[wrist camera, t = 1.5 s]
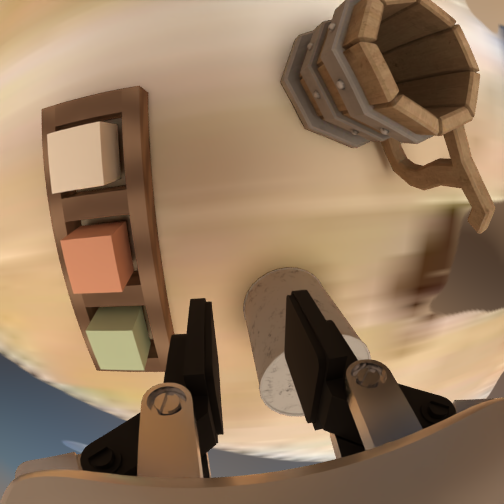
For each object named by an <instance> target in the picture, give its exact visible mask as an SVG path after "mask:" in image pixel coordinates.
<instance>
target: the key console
mask: <svg viewBox="0 0 504 504" xmlns="http://www.w3.org/2000/svg"><path fill="white" fill-rule="evenodd" d="M121 117H122V135H123V153H124V166H125V178H126V186H118V187H110V188H103V189H96V190H90V191H83V192H76V190H71V191H66V192H60V193H54V194H52V188H51V180H50V170H49V159H48V143H47V134H49V133H53V132H57V131H60V130H64V129H68V128H72V127H76V126H81V125H85V124H90V123H94V122H99V121H104V120H110V119H115V118H121ZM42 144H43V159H44V171H45V180H46V189H47V196H48V203H49V210H50V216H51V221H52V227H53V232H54V237H55V242H56V247H57V251H58V255H59V260H60V264H61V268H62V271H63V275H64V279H65V283H66V286H67V290H68V293H69V296H70V300H71V303H72V306H73V309H74V312H75V315H76V318H77V321H78V324H79V327H80V329H81V332H82V335H83V338H84V340H85V343H86V345H87V348H88V351H89V353H90V355H91V358H92V360H93V363H94V365H95V367H96V370H99V371H125V372H165V370H166V364H167V357H168V351H169V345H170V339H171V335H174V330H173V325H172V320H171V315H170V310H169V304H168V299H167V293H166V287H165V281H164V275H163V269H162V262H161V255H160V248H159V240H158V232H157V224H156V215H155V206H154V196H153V185H152V173H151V159H150V142H149V117H148V92H147V91H145V90H144V89H143V88H142V87H140V86H135V87H129V88H124V89H118V90H113V91H108V92H104V93H99V94H95V95H90V96H86V97H82V98H79V99H75V100H71V101H67V102H64V103H60V104H57V105H54V106H51V107H47V108H44V109H42ZM129 214H130V222H131V229H132V236H133V242H134V249H135V255H136V261H137V266H138V271H134V272H133V273H132V275H131V277H130V279H129V281H128V282H127V284H126V286H125V288H124V290H123V292H109V293H81V294H73V290H72V287H71V283H70V280H69V276H68V272H67V268H66V264H65V260H64V256H63V251H62V247H61V242H60V240H62V239H63V238H64V237H66V236H67V235H69V234H70V233H71V232H73V231H74V230H75V229H77V228H78V227H80V226H82V225H81V220H85V219H93V218H101V217H110V216H119V215H129ZM139 305H145V306H146V311H147V315H148V319H149V324H150V328H151V332H152V336H153V339H152V340H150V342H151V345H150V349H149V353H148V357H147V362H146V366H145V370H106V369H100V367H99V364H98V362H97V359H96V357H95V355H94V352H93V349H92V347H91V344H90V342H89V339H88V336H87V333H86V329H87V327H88V325H89V324H90V322H91V320H92V318H93V317H94V315H95V313H96V312H97V310H98V308H99V307H108V306H139Z"/></svg>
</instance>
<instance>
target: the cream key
mask: <svg viewBox="0 0 504 504" xmlns="http://www.w3.org/2000/svg"><path fill="white" fill-rule="evenodd" d="M47 143H48V159H49V170H50V180H51V188H52V194H54V193H60V192H66V191H71V190H77V189H83V188H90V187H96V186H103V185H106V184H109V183H111V182H114V181H116V180H119V179H121V171H120V159H119V143H118V125H117V124H112V123H106V122H101V121H99V122H94V123H90V124H85V125H81V126H76V127H72V128H68V129H64V130H60V131H57V132H53V133H49V134H47Z"/></svg>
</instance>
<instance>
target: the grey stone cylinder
mask: <svg viewBox="0 0 504 504" xmlns="http://www.w3.org/2000/svg"><path fill="white" fill-rule="evenodd" d="M296 290H308V292H309V293H310V295H311V297H312V298H313V300H314V301H315V303H316V305H317V306H318V308H319V310H320V311H321V313H322V314H323V316H324V318H325V319H326V320H332V321H333V322H334V323H335V325H336V326H337V328H338V329H339V331H340V333H341V334H342V336H343V337H344V339H345V340H346V342H347V344H348V345H349V347H350V348H351V350H352V351H353V353H354V355H355V356H356V358H357V359H358V360H364V359H370V360H371V357H370V352H369V350H368V348H367V346H366V345H365V344H364V343H363V342H362V341H361V339H360V338H359V337H358V335H357V334H356V332H355V331H354V330H353V328H352V327H351V325H350V324H349V323H348V321H347V320H346V318H345V317H344V316H343V314H342V313H341V311H340V310H339V309H338V307H337V306H336V304H335V303H334V302H333V300H332V299H331V298H330V296H329V295H328V293H327V292H326V291H325V289H324V288H323V286H322V285H321V283H320V281H319V280H318V279H317V278H316V277H315V276H314V275H313V274H311V273H309V272H308V271H306V270H303V269H299V268H288V267H286V268H281V269H276V270H274V271H271V272H268V273H267V274H265V275H263V276H262V277H260V278H259V279H258V280H257V281H256V282H255V283H254V284H253V285H252V286H251V288H250V289H249V291H248V292H247V295H246V297H245V300H244V307H243V311H244V317H245V320H246V322H247V327H248V332H249V337H250V342H251V347H252V352H253V357H254V362H255V366H256V371H257V376H258V381H259V390H260V396H261V398H262V400H263V402H264V403H265V405H267V406H268V407H269V408H270V409H271V410H273V411H275V412H277V413H279V414H283V415H288V416H305V415H304V412H303V409H302V406H301V403H300V401H299V398H298V395H297V392H296V389H295V386H294V383H293V380H292V377H291V374H290V371H289V368H288V365H287V362H286V359H285V354H284V345H285V320H286V297H287V295H291V292H292V291H296Z"/></svg>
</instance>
